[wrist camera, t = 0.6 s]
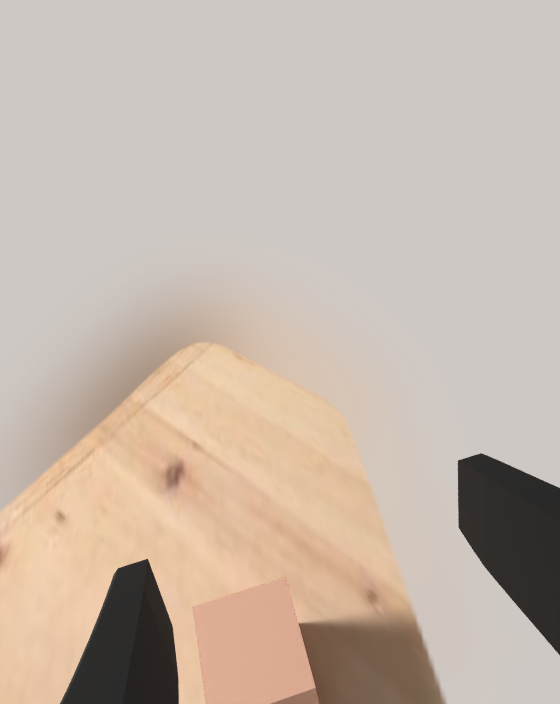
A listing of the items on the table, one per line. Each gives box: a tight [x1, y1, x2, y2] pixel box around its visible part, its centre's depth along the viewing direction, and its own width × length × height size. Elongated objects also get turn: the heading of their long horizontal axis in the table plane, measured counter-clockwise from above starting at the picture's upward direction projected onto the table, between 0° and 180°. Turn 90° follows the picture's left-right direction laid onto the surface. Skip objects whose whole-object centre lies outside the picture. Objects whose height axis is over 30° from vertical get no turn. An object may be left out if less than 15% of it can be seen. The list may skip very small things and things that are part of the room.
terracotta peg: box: [193, 577, 319, 704], centre depth 22 cm, size 4×4×8 cm
